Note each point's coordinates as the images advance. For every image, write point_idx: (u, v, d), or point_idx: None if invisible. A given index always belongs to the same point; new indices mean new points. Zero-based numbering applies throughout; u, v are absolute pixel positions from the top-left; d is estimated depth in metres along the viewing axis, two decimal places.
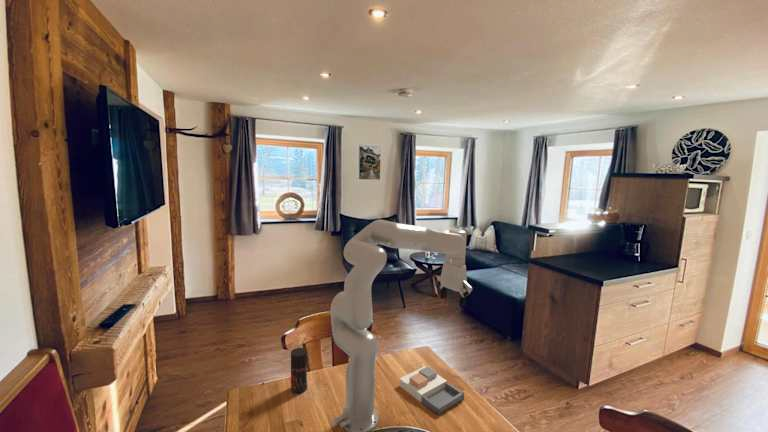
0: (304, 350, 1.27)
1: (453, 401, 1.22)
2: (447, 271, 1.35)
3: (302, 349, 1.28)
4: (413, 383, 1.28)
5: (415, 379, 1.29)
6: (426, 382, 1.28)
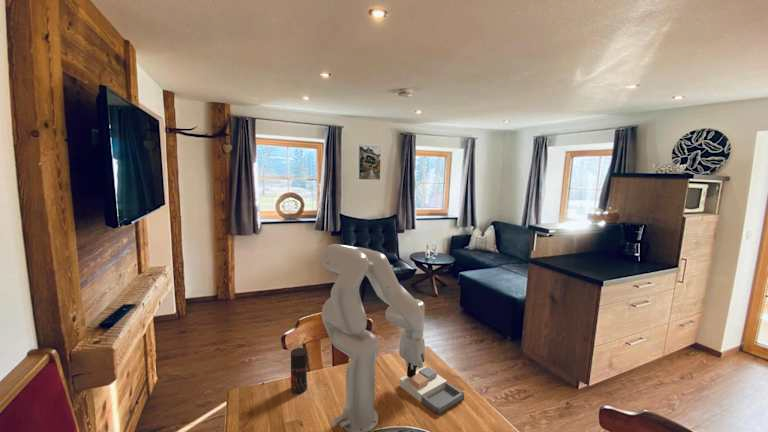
0: (304, 350, 1.27)
1: (453, 401, 1.22)
2: (405, 343, 1.30)
3: (302, 349, 1.28)
4: (413, 383, 1.28)
5: (415, 379, 1.29)
6: (426, 383, 1.28)
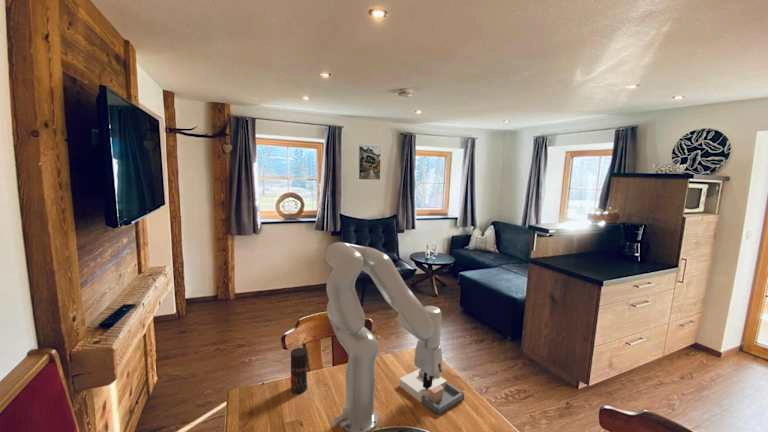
0: (304, 350, 1.27)
1: (453, 401, 1.22)
2: (421, 352, 1.23)
3: (302, 349, 1.28)
4: (430, 396, 1.21)
5: (435, 396, 1.21)
6: None
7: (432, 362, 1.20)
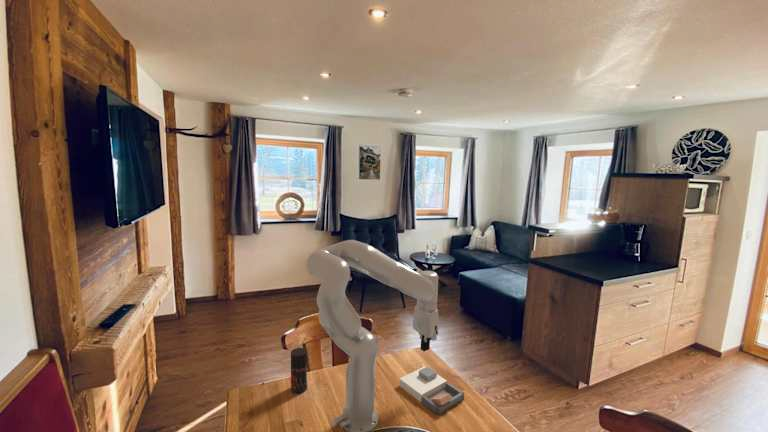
0: (304, 350, 1.27)
1: (453, 401, 1.22)
2: (418, 315, 1.27)
3: (302, 349, 1.28)
4: (436, 401, 1.19)
5: None
6: None
7: (428, 324, 1.24)
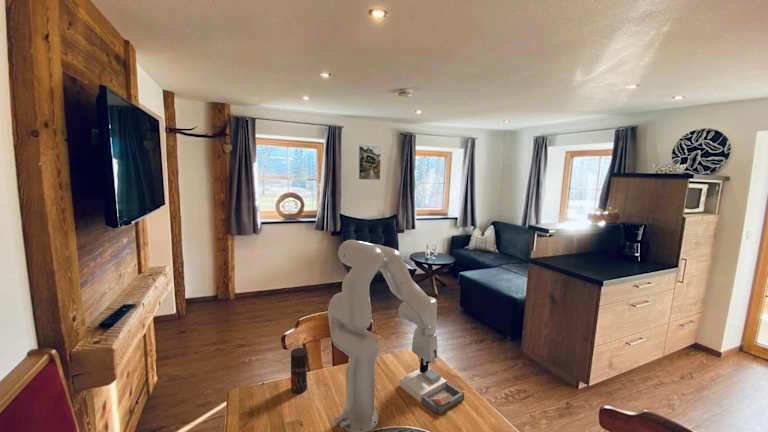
0: (304, 350, 1.27)
1: (453, 401, 1.22)
2: (418, 339, 1.33)
3: (302, 349, 1.28)
4: (436, 401, 1.19)
5: None
6: None
7: (428, 348, 1.29)
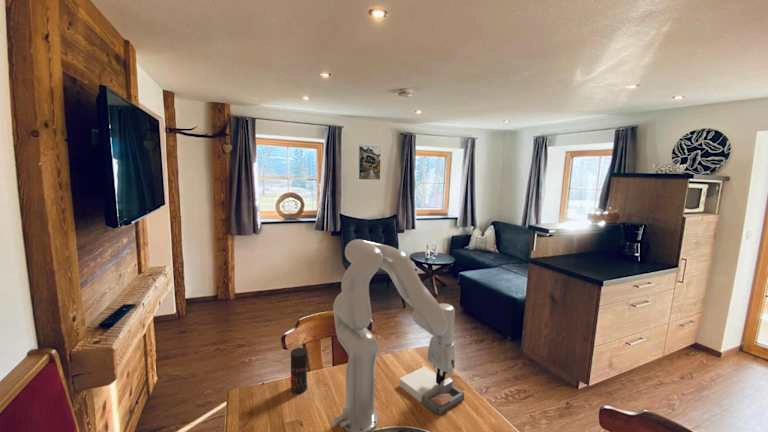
0: (304, 350, 1.27)
1: (453, 401, 1.22)
2: (434, 349, 1.26)
3: (302, 349, 1.28)
4: (436, 401, 1.19)
5: None
6: None
7: (446, 358, 1.22)
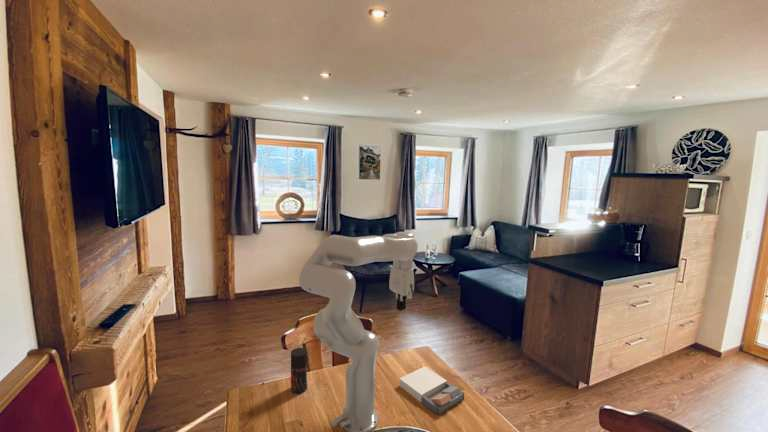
0: (304, 350, 1.27)
1: (453, 401, 1.22)
2: (394, 275, 1.31)
3: (302, 349, 1.28)
4: (436, 401, 1.19)
5: None
6: None
7: (404, 282, 1.27)
